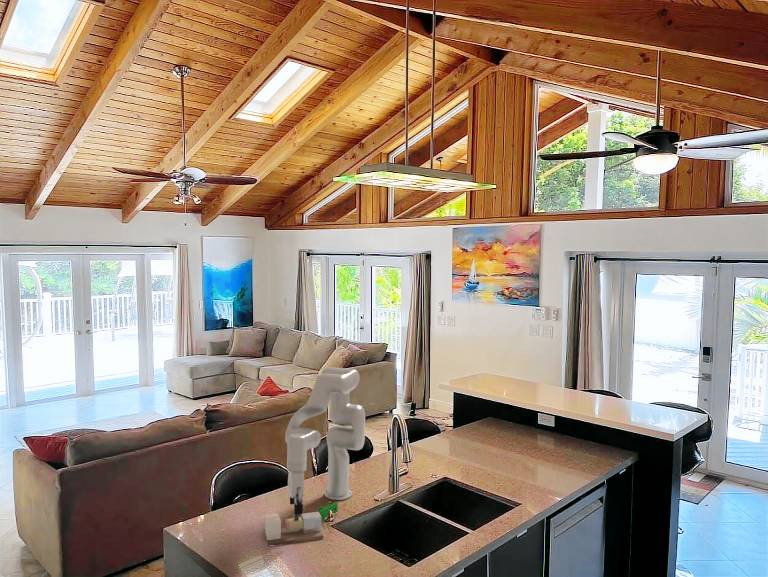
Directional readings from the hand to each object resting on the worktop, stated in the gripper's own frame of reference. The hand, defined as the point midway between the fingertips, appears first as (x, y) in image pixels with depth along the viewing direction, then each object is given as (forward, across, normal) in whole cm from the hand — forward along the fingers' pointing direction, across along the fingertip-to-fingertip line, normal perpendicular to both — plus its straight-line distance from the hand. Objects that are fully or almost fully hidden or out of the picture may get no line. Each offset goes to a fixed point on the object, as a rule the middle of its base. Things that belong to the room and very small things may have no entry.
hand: (296, 508), depth 225 cm
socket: (+9, 0, -9) cm, 13 cm away
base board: (+10, 0, -1) cm, 10 cm away
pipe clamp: (+11, -13, +15) cm, 23 cm away
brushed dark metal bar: (+7, 0, +2) cm, 8 cm away
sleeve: (+9, 0, +6) cm, 11 cm away
